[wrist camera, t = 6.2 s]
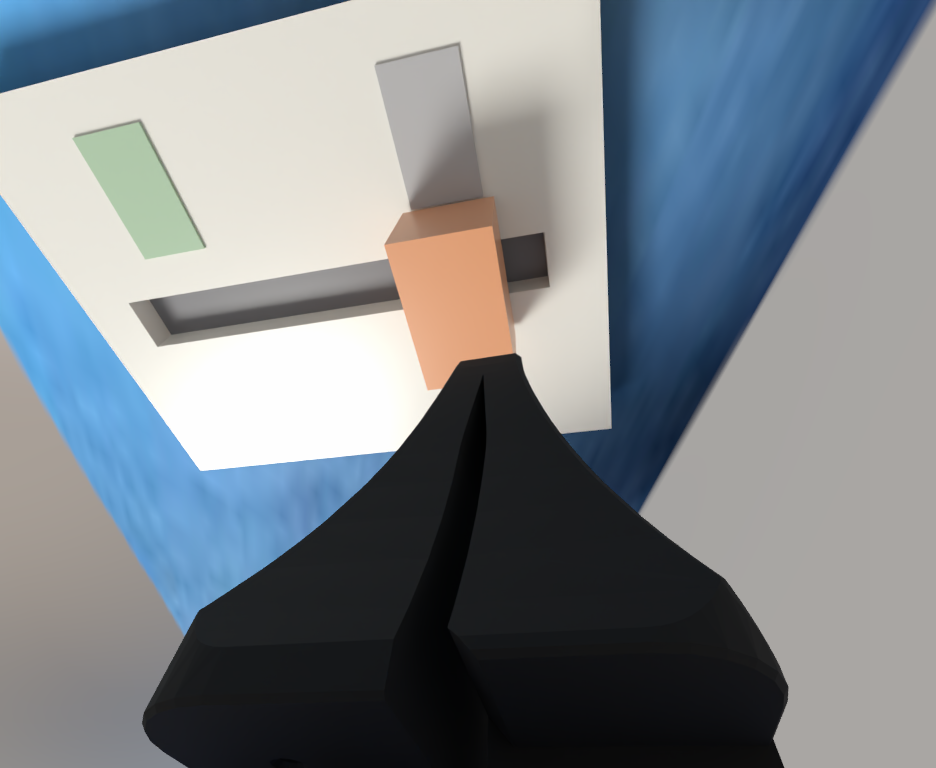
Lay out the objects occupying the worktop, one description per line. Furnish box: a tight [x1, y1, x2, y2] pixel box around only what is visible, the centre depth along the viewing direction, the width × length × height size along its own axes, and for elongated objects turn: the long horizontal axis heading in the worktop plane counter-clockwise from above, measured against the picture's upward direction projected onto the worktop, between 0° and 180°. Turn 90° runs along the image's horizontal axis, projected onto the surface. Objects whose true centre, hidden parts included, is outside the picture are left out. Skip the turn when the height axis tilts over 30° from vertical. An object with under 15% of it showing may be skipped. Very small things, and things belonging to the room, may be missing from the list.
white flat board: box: [0, 0, 612, 471], centre depth 18 cm, size 16×20×2 cm
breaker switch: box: [384, 196, 516, 390], centre depth 16 cm, size 5×3×4 cm, turn 11°
